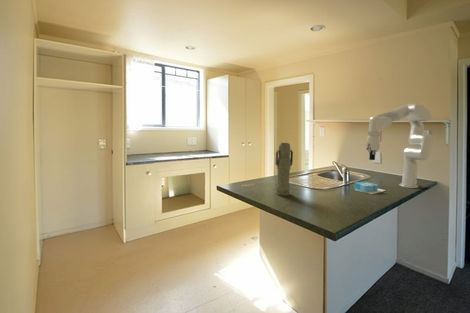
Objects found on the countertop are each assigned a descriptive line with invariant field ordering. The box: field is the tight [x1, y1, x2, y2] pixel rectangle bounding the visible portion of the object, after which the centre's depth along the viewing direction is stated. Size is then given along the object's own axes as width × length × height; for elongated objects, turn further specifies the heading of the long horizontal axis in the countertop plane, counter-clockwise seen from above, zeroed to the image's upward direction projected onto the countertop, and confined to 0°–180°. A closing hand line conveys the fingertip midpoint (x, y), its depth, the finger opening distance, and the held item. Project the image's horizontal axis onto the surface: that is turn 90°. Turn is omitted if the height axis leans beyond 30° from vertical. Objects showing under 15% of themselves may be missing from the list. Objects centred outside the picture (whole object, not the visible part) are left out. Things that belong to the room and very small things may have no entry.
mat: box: [354, 188, 386, 195], centre depth 198 cm, size 18×13×1 cm
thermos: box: [275, 142, 294, 197], centre depth 182 cm, size 9×12×35 cm
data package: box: [353, 181, 379, 193], centre depth 198 cm, size 12×4×12 cm
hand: (372, 159), depth 195 cm, fingers closed
